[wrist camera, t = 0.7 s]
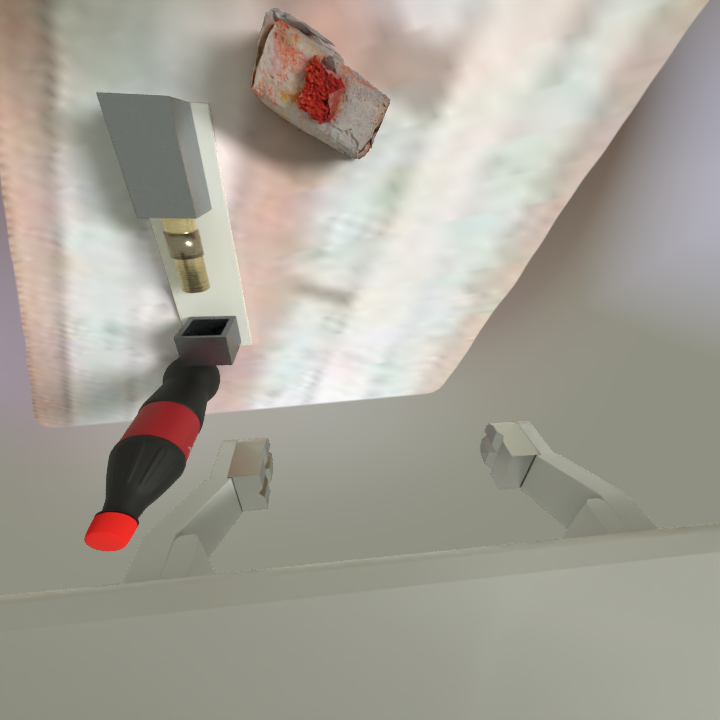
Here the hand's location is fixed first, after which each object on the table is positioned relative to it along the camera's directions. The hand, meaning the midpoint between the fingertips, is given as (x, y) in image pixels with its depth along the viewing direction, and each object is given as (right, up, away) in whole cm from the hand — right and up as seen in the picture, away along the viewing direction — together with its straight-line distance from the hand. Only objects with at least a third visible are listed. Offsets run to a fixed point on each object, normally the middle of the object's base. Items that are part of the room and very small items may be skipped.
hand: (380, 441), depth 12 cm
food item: (-5, +34, +26) cm, 43 cm away
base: (-24, +19, +33) cm, 45 cm away
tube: (-23, +22, +29) cm, 43 cm away
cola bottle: (-29, +1, +45) cm, 54 cm away
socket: (-24, +8, +40) cm, 47 cm away
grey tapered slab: (-23, +27, +27) cm, 45 cm away
